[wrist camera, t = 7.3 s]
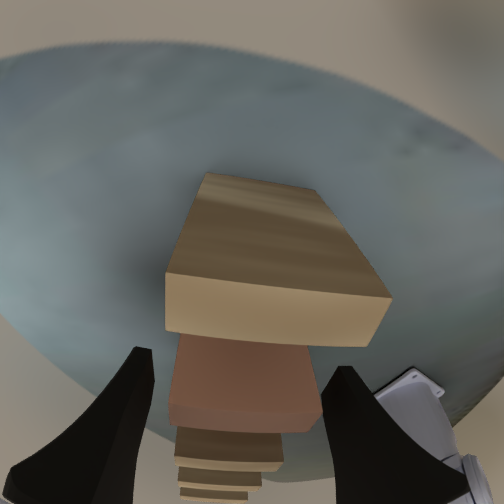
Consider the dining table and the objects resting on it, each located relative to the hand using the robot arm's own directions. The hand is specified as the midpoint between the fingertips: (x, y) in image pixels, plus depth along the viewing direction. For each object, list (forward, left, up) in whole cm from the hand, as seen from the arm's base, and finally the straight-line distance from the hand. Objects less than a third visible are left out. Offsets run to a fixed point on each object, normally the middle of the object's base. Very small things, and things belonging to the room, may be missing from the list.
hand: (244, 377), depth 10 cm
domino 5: (+3, -4, -6) cm, 8 cm away
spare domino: (0, 0, -6) cm, 6 cm away
